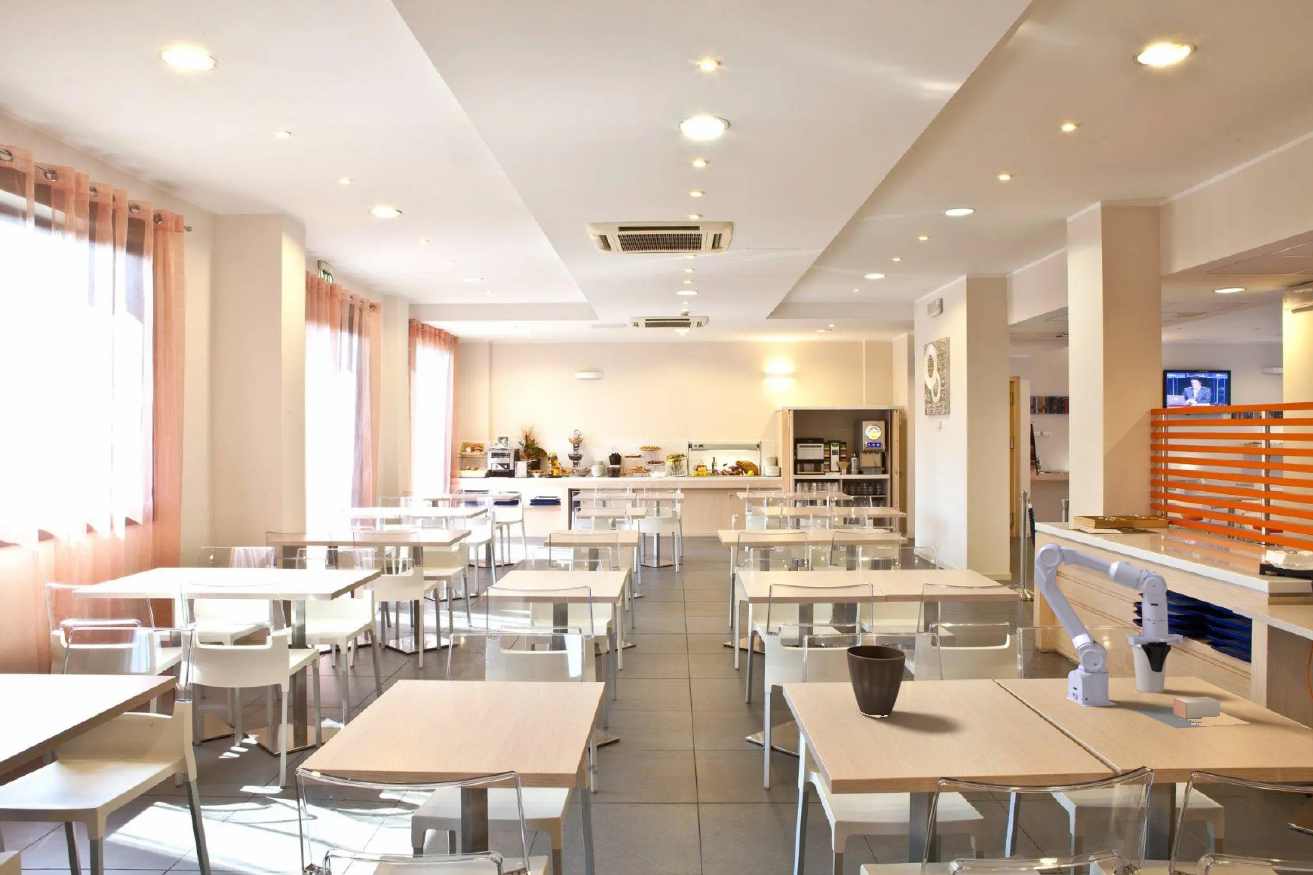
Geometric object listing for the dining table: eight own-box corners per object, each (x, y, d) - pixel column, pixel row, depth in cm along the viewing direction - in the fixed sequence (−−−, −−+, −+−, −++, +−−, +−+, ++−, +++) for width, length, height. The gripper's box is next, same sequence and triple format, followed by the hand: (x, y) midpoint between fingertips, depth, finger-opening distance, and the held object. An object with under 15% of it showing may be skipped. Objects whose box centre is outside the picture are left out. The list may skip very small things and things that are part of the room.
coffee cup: (1123, 688, 237) (1122, 636, 237) (1145, 684, 241) (1144, 633, 241) (1155, 697, 228) (1155, 642, 229) (1177, 693, 232) (1177, 639, 233)
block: (1185, 702, 208) (1220, 701, 210) (1173, 698, 212) (1207, 696, 214) (1185, 718, 208) (1220, 716, 210) (1173, 713, 212) (1207, 712, 214)
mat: (1176, 729, 201) (1176, 727, 201) (1128, 709, 217) (1128, 708, 217) (1254, 725, 204) (1254, 723, 204) (1202, 706, 220) (1202, 704, 220)
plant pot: (918, 719, 208) (918, 655, 208) (869, 726, 202) (869, 660, 202) (881, 702, 221) (881, 643, 222) (834, 708, 216) (834, 647, 216)
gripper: (1141, 623, 211) (1143, 676, 211) (1191, 620, 213) (1193, 673, 213) (1121, 618, 218) (1123, 669, 218) (1170, 616, 220) (1172, 667, 220)
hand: (1156, 671), depth 216 cm, fingers closed
